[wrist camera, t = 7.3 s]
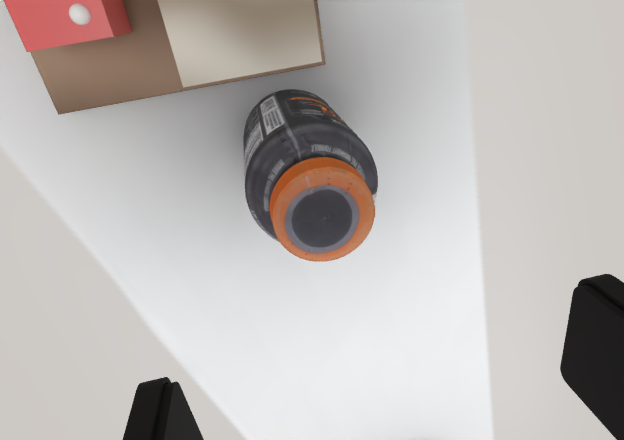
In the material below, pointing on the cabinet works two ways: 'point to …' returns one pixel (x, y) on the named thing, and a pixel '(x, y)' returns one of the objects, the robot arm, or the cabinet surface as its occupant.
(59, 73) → the game board
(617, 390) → the robot arm
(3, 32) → the cabinet surface
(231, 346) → the cabinet surface
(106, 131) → the cabinet surface
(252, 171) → the pill bottle
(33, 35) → the red die
